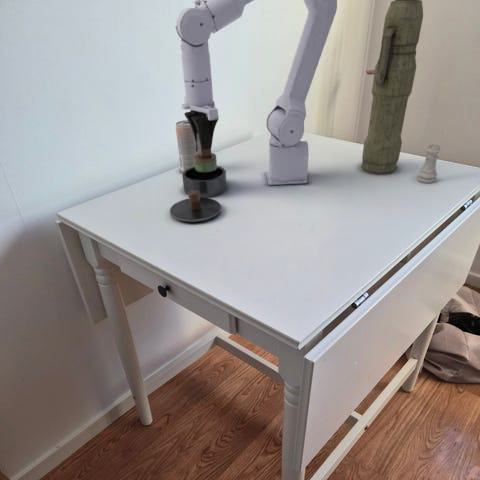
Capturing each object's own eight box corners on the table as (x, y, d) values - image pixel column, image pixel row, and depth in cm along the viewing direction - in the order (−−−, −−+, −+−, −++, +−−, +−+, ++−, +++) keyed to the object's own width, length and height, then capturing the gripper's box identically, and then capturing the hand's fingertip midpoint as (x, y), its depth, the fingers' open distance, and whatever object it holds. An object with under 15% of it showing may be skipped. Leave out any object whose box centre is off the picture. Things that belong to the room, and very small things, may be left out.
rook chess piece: (415, 182, 101) (423, 148, 96) (416, 175, 104) (424, 142, 99) (435, 184, 100) (444, 149, 95) (436, 177, 103) (445, 143, 98)
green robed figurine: (405, 164, 110) (439, -4, 88) (384, 179, 103) (416, 0, 81) (373, 158, 115) (399, -4, 92) (351, 171, 108) (373, 0, 86)
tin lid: (221, 200, 98) (220, 181, 95) (220, 223, 89) (219, 202, 86) (173, 203, 98) (170, 183, 95) (167, 225, 89) (164, 204, 86)
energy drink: (202, 166, 115) (198, 119, 108) (199, 174, 111) (194, 125, 104) (183, 166, 116) (177, 120, 108) (179, 174, 112) (173, 126, 104)
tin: (226, 179, 108) (225, 164, 105) (226, 196, 100) (225, 180, 97) (186, 181, 108) (184, 166, 105) (182, 198, 100) (180, 182, 97)
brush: (191, 167, 101) (187, 131, 96) (211, 162, 102) (208, 127, 97) (200, 174, 97) (196, 137, 92) (220, 169, 99) (218, 133, 94)
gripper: (168, 76, 92) (177, 141, 100) (192, 88, 81) (199, 159, 90) (198, 72, 94) (204, 136, 103) (225, 83, 84) (229, 153, 92)
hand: (204, 146), depth 97 cm, fingers closed on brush, 2 cm apart
